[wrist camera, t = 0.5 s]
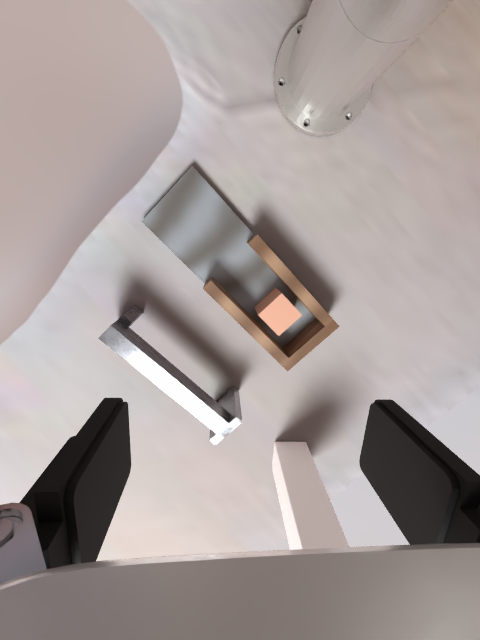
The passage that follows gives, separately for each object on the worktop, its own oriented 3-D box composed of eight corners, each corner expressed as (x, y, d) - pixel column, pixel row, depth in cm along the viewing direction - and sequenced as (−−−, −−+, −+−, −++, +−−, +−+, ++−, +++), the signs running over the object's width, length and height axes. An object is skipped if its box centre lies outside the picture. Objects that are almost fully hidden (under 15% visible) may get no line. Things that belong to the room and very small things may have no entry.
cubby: (143, 221, 38) (132, 219, 34) (193, 167, 37) (188, 156, 32) (280, 357, 46) (287, 371, 41) (326, 316, 44) (339, 326, 39)
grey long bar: (115, 325, 42) (90, 346, 34) (138, 301, 42) (118, 317, 34) (216, 410, 48) (215, 444, 40) (238, 390, 47) (242, 422, 39)
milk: (271, 466, 52) (303, 621, 31) (274, 440, 51) (310, 585, 30) (302, 466, 53) (355, 619, 32) (306, 440, 51) (364, 584, 30)
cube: (254, 307, 42) (258, 315, 38) (275, 287, 41) (281, 293, 37) (273, 326, 43) (278, 336, 39) (294, 307, 42) (302, 315, 38)
